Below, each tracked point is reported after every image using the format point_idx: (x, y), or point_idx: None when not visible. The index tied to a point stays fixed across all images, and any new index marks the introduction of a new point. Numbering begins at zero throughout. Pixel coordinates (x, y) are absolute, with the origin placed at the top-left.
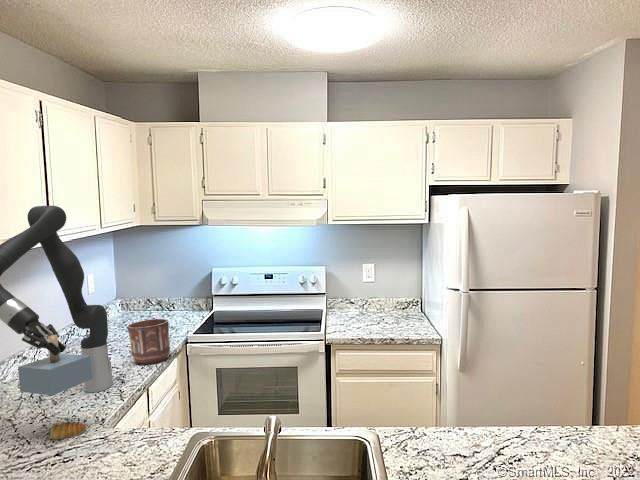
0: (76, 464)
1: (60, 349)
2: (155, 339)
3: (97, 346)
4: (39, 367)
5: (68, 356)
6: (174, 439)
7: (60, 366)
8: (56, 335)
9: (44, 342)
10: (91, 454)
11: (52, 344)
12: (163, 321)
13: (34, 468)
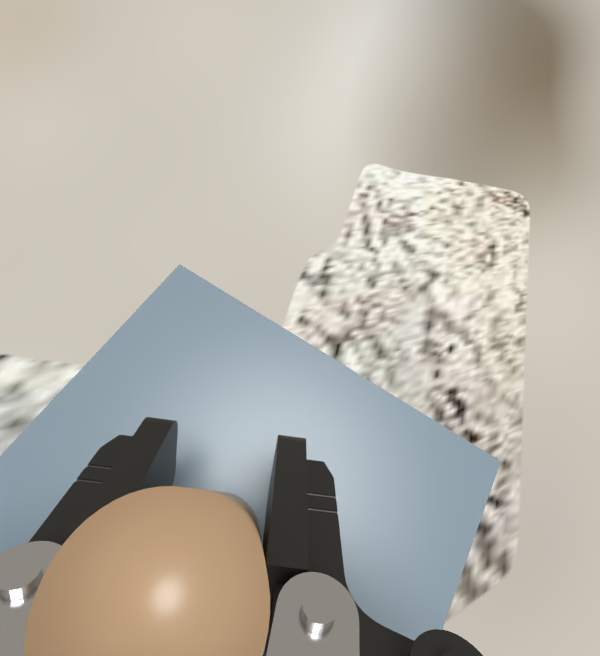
0: (479, 373)
1: (166, 482)
2: None
3: None
4: (409, 615)
5: (80, 457)
6: (391, 187)
7: (411, 407)
8: (192, 492)
9: (467, 649)
10: (432, 350)
11: (305, 535)
12: None
13: None
